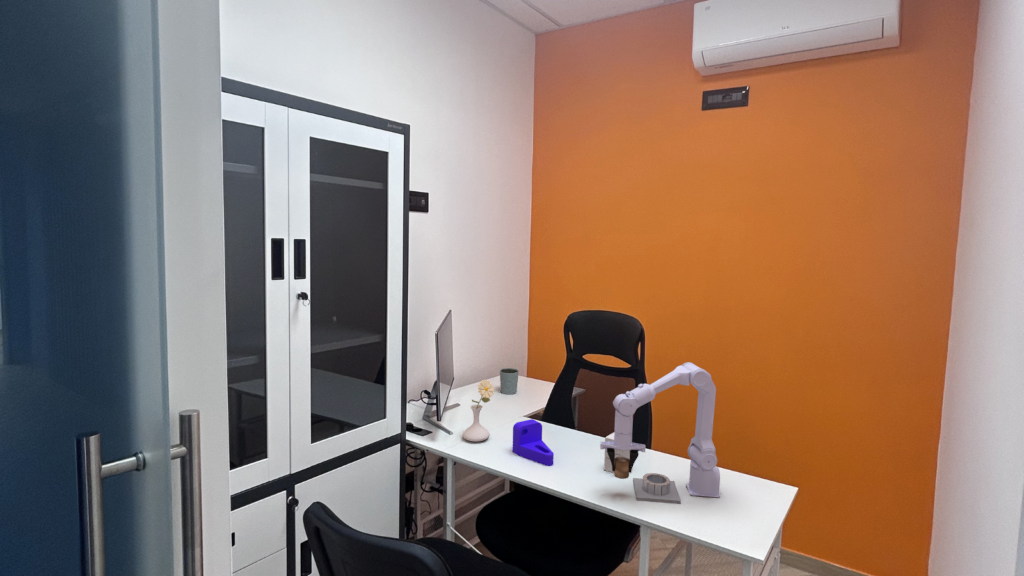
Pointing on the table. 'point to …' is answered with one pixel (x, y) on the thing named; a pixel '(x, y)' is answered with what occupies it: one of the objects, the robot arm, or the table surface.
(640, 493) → the mount plate
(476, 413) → the flower in vase
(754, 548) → the table surface
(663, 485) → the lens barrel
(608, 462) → the supplement box
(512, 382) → the green cylindrical pot
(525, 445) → the bracket
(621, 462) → the walnut cap
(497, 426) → the table surface
